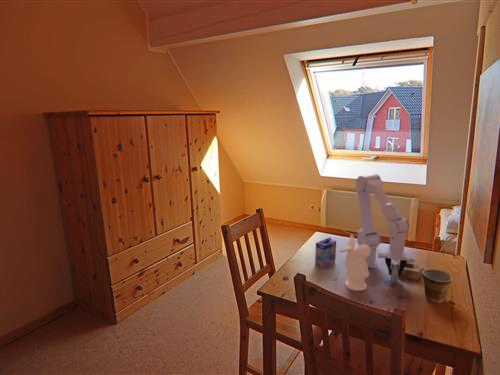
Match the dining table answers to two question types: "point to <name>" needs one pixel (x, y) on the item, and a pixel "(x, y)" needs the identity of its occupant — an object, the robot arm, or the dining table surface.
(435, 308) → the dining table surface
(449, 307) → the dining table surface
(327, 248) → the ink cartridge box
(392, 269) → the dowel
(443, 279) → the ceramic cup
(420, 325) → the dining table surface
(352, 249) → the cherub figurine
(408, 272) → the socket block
